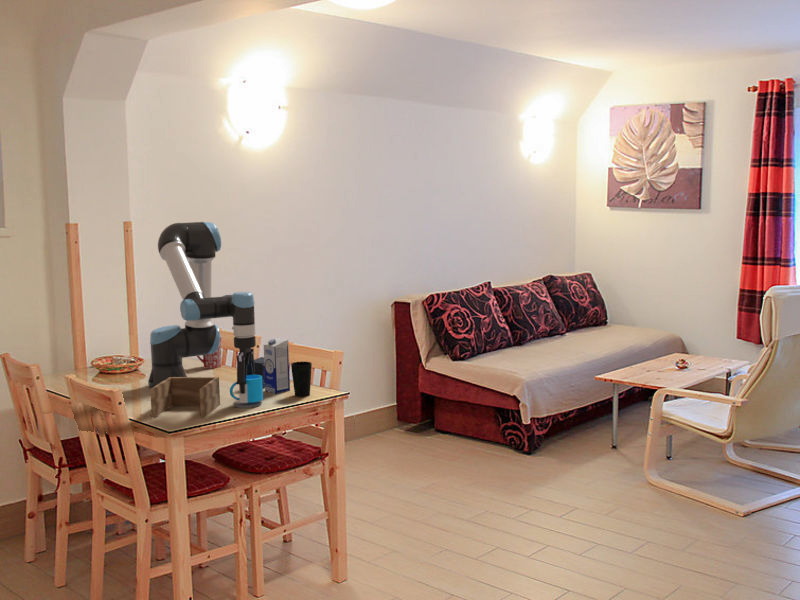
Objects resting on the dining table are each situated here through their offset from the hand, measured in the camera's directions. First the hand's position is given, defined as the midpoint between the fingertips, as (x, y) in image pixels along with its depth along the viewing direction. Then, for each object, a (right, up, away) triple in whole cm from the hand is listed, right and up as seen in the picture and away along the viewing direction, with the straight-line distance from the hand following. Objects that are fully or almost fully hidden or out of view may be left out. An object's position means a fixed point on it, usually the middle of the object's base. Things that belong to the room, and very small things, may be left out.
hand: (247, 398), depth 286 cm
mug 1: (-30, +6, +66) cm, 73 cm away
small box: (0, +1, +29) cm, 29 cm away
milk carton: (+8, 0, +21) cm, 22 cm away
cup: (+18, 0, +13) cm, 22 cm away
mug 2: (0, -1, -1) cm, 1 cm away
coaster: (0, -2, 0) cm, 2 cm away
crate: (-20, -3, -7) cm, 21 cm away
